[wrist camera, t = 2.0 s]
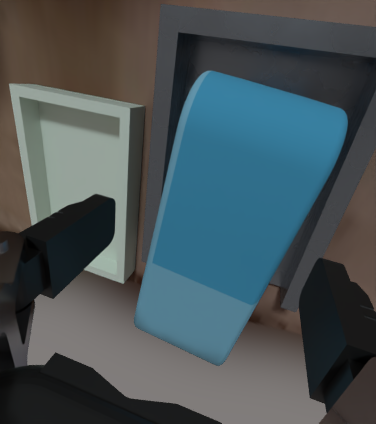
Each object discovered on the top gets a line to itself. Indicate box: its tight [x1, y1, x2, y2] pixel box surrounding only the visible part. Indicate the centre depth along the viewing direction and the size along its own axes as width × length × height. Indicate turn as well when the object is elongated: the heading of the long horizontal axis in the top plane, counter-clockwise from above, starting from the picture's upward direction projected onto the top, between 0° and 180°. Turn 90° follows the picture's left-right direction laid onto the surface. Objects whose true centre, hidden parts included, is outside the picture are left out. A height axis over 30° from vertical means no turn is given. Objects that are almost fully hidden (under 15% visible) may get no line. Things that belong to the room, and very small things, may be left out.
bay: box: [142, 4, 376, 312], centre depth 19 cm, size 13×18×3 cm
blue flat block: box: [134, 71, 348, 366], centre depth 15 cm, size 12×4×12 cm, turn 165°
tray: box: [9, 84, 145, 284], centre depth 24 cm, size 11×17×2 cm, turn 171°
